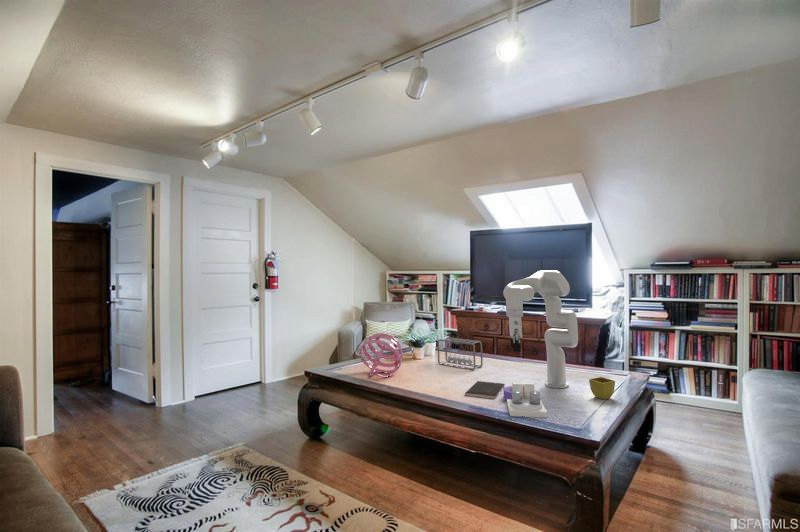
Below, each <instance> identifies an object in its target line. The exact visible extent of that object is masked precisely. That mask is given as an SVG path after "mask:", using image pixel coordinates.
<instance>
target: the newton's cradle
mask: <svg viewBox="0 0 800 532" xmlns="http://www.w3.org/2000/svg"><path fill="white" fill-rule="evenodd" d="M440 342H444V345H445V347H444V348H445V349H444V350H445V362H447V361H452V362H458V363H464V364H469V365H474V366H473V367H469V365H468V367H466V366H463V367H464V368H469V369H474V370H476V367H475V366H478V367H477V368H482V367H483V365H484V363H483V361H484V360H483V343H482V342H481V340H473V339H465V338H458V337H457V338H455V337H446V338H443V339H438V340H437V362H438V364H439V363H442V364H444V362H441V361H440ZM450 343H451V346H450V345H449V344H450ZM477 343H479V344H480V365H478V364H476V345H475V344H477ZM453 344H456V345H459V344H461V347H464V346H463V345H465V348H464V350H466V348H469V347H470V348H469V349H470V351H471V349H472V348H471V346H472V347H473V349H472V350H473V351H472V352H473V355H472V356H473V359H472V358H471V357H468V358H466V356H463V357H461V356H458V357H457V356H456V354H457V352H456V351H454V354H453V355H454V356H452V354H449V356H448V350H449V353H451V349H448V346H450V348H452V346H453ZM447 345H448V346H447ZM468 345H470V346H469V347H468ZM461 347H459V349H457V350H458V352H462V353H463V355H465V351H461V349H462V348H461ZM454 348H455V347H454V346H453V348H452V349H454ZM459 350H460V351H459ZM467 353H468V354H470V352H469V351H467ZM446 364H447V365H450V364H448V363H446ZM452 365H453V366H456V364H452ZM457 366H458V367H462V366H460V365H457ZM469 369H468V370H469Z"/></svg>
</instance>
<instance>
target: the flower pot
mask: <svg viewBox="0 0 800 532" xmlns="http://www.w3.org/2000/svg"><path fill="white" fill-rule="evenodd" d="M588 382H589V387H590V391H591V393H592V395H593V396H594V397H595V398H597V399H599V400H600V399H601V400H606V399H611V397H612V396H613V394H614V393H615V389H616V388H615V387H616V380H614V379H611V378H606V377H602V376H598V377H594V378H589V379H588Z"/></svg>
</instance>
